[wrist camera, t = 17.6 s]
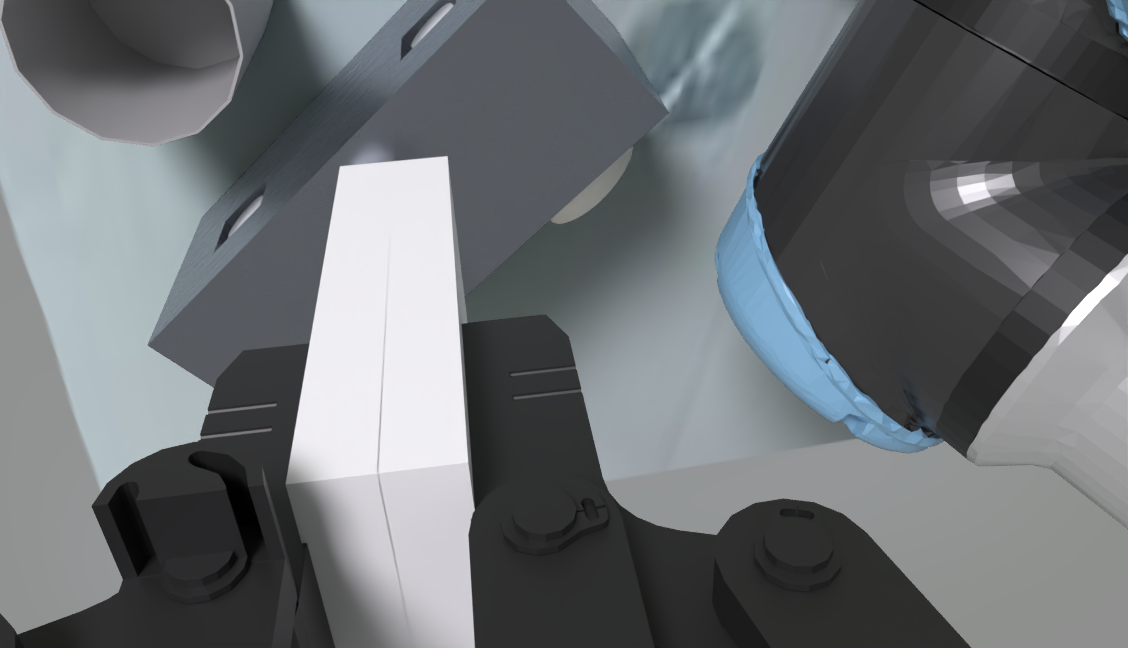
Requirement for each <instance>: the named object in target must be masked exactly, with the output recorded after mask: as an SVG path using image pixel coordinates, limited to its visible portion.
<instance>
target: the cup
mask: <svg viewBox="0 0 1128 648" xmlns="http://www.w3.org/2000/svg"><path fill="white" fill-rule="evenodd" d="M273 2H274V0H0V29H1V31H2V34H3V37H4V40H5V43H6V46H7V49H8V52H9V55H10V58H11V61H12V64H13V66H14V69H15V71H16V73H17V74H18V75H19V76H20V77H21V78H22V79H23V81H24V82H25V83H26V84H27V85H28V86H29V87H30V88H31V90H32V91H33V92H34V93H35V94H36V95H37V96H38V98H39V99H40V100H41V101H42V102H43V103H44V104H45V105H46V107H47V108H48V109H49V110H50V111H51V112H52V113H53V114H54V115H56V116H58V117H60V118H62V119H64V120H66V121H68V122H69V123H71V124H73V125H75V126H77V127H79V128H81V129H82V130H84V131H86V132H88V133H90V134H92V135H94V136H95V137H97V138H99V139H101V140H107V141H114V142H122V143H130V144H138V145H145V146H157V145H160V144H164V143H167V142H170V141H174V140H177V139H180V138H184V137H187V136H191V135H194V134H197V133H199V132H200V131H201V130H203V129H204V128H205V127H206V126H207V125H208V124H209V123H210V122H211V121H212V120H213V119H214V118H215V117H216V116H217V115H218V114H219V113H220V112H221V111H222V110H223V109H224V108H225V107H226V106H227V105H228V104H229V103H230V102H231V100H232V98H233V96H234V94H235V92H236V90H237V88H238V86H239V84H240V82H241V80H242V78H243V75H244V73H245V71H246V69H247V67H248V65H249V63H250V61H251V59H252V57H253V55H254V53H255V50H256V48H257V46H258V44H259V42H260V40H261V38H262V36H263V34H264V32H265V30H266V26H267V23H268V19H269V16H270V12H271V9H272V5H273Z"/></svg>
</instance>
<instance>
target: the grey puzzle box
mask: <svg viewBox="0 0 1128 648" xmlns="http://www.w3.org/2000/svg"><path fill="white" fill-rule="evenodd" d="M448 3H451V4H452V5H453V7H452V8H451V9H450V10H449V11H448V12H447V13H446V14H445V15H444V16H443V17H442V19H441V20H440V21H439V22H438V23H437V24H436V25H435V26H434V27H433V28H432V29H431V30H430V31H429V32H428V33H427V34H426V35H425V36H424V37H423V38H422V39H421V40H420V41H419V42H418V43H417V44H416V45H415V46H414V47H413V48H412V47H411V44H412V41H413V40H414V38H415V36H416V35H417V33H418V32H419V30H420V29H421V28H422V27H423V25H424V24H425V23H426V22H427V21H428V20H429V19H430V18H431V17H432V16H433V15H434V14H435V13H436V12H437V11H438V10H439V9H440V8H441V7H443V6H444V5H446V4H448ZM668 113H669V112H668V110H667V109H666V107H665V106H664V104H663V103H662V101H661V99H660V98H659V96H658V95H657V93H656V91H655V90H654V88H653V87H652V85H651V83H650V82H649V80H648V79H647V77H646V75H645V74H644V72H643V71H642V69H641V67H640V66H639V64H638V63H637V61H636V59H635V58H634V56H633V55H632V53H631V51H630V50H629V48H628V47H627V45H626V44H625V42H624V40H623V39H622V37H621V36H620V34H619V32H618V31H617V29H616V28H615V27H614V25H613V24H612V23H611V22H610V21H609V20H608V19H607V18H606V17H605V15H604V14H603V13H602V12H601V11H600V10H599V9H598V8H597V7H596V5H595V4H594V3H593V2H592V1H591V0H408V1H407V2H406V3H405V4H404V5H403V6H402V7H401V8H400V9H399V11H398V12H397V13H396V14H395V15H394V16H393V17H392V18H391V19H390V20H389V21H388V22H387V23H386V24H385V25H384V26H383V27H382V28H381V29H380V31H379V32H378V33H377V34H376V35H375V36H374V37H373V38H372V39H371V40H370V41H369V42H368V43H367V44H366V45H365V46H364V47H363V48H362V50H361V51H360V52H359V53H358V54H357V55H356V56H355V57H354V58H353V59H352V60H351V61H350V62H349V63H348V64H347V65H346V66H345V67H344V68H343V70H342V71H341V72H340V73H339V74H338V75H337V76H336V77H335V78H334V79H333V80H332V81H331V82H330V83H329V84H328V85H327V86H326V87H325V88H324V90H323V91H322V92H321V93H320V94H319V95H318V96H317V97H316V98H315V99H314V100H313V101H312V102H311V103H310V104H309V105H308V106H307V107H306V109H305V110H304V111H303V112H302V113H301V114H300V115H299V116H298V117H297V118H296V119H295V120H294V121H293V122H292V123H291V124H290V125H289V126H288V127H287V129H286V130H285V131H284V132H283V133H282V134H281V135H280V136H279V137H278V138H277V139H276V140H275V141H274V142H273V143H272V144H271V145H270V146H269V148H268V149H267V150H266V151H265V152H264V153H263V154H262V155H261V156H260V157H259V158H258V159H257V160H256V161H255V162H254V163H253V164H252V165H251V166H250V168H249V169H248V170H247V171H246V172H245V173H244V174H243V175H242V176H241V177H240V178H239V179H238V180H237V181H236V182H235V183H234V184H233V185H232V186H231V188H230V189H229V190H228V191H227V192H226V193H225V194H224V195H223V196H222V197H221V198H220V199H219V200H218V201H217V202H216V203H215V204H214V205H213V207H212V208H211V209H210V210H209V211H208V212H207V213H206V214H205V215H204V216H203V217H202V219H201V221H200V223H199V226H198V228H197V230H196V233H195V235H194V237H193V240H192V242H191V244H190V247H189V249H188V251H187V254H186V256H185V258H184V261H183V263H182V265H181V268H180V270H179V272H178V275H177V277H176V280H175V282H174V284H173V287H172V289H171V291H170V294H169V296H168V298H167V301H166V303H165V305H164V308H163V310H162V312H161V315H160V317H159V319H158V322H157V324H156V326H155V329H154V331H153V333H152V336H151V338H150V340H149V343H148V346H149V347H151V348H153V349H154V350H156V351H157V352H159V353H160V354H162V355H163V356H165V357H167V358H168V359H170V360H171V361H173V362H174V363H176V364H178V365H179V366H181V367H182V368H184V369H185V370H187V371H188V372H190V373H192V374H193V375H195V376H196V377H198V378H199V379H201V380H202V381H204V382H206V383H207V384H209V385H210V386H212V387H213V388H214V387H215V383H216V380H217V378H218V377H219V376H220V375H221V374H222V373H223V372H224V371H225V369H226V368H227V367H228V366H229V365H230V364H231V363H232V362H233V361H234V360H235V359H236V358H237V357H238V355H239V354H240V353H241V352H242V351H243V350H252V349H261V348H270V347H280V346H289V345H298V344H307V343H310V339H311V333H312V327H313V321H314V315H315V309H316V304H317V298H318V292H319V286H320V280H321V274H322V268H323V263H324V257H325V251H326V245H327V239H328V233H329V227H330V222H331V216H332V210H333V204H334V198H335V192H336V187H337V181H338V175H339V169H340V166H348V165H359V164H369V163H380V162H391V161H401V160H412V159H423V158H433V157H444V156H448V164H449V172H450V181H451V189H452V197H453V205H454V214H455V222H456V230H457V238H458V247H459V255H460V263H461V271H462V280H463V288H464V296H466V295H467V294H469V293H470V292H471V291H472V290H473V289H474V288H475V287H476V286H477V285H479V284H480V283H481V282H482V281H483V280H484V279H485V278H486V277H487V276H489V275H490V274H491V273H492V272H493V271H494V270H495V269H496V268H497V267H499V266H500V265H501V264H502V263H503V262H504V261H505V260H506V259H507V258H509V257H510V256H511V255H512V254H513V253H514V252H515V251H516V250H517V249H519V248H520V247H521V246H522V245H523V244H524V243H525V242H526V241H527V240H528V239H530V238H531V237H532V236H533V235H534V234H535V233H536V232H537V231H538V230H540V229H541V228H542V227H543V226H544V225H545V224H546V223H547V222H548V221H550V220H551V219H552V218H553V217H554V216H555V215H556V214H557V213H558V212H560V211H561V210H562V209H563V208H564V207H565V206H566V205H567V204H568V203H570V202H571V201H572V200H573V199H574V198H575V197H576V196H577V195H578V194H580V193H581V192H582V191H583V190H584V189H585V188H586V187H587V186H588V185H590V184H591V183H592V182H593V181H594V180H595V179H596V178H597V177H598V176H600V175H601V174H602V173H603V172H604V171H605V170H606V169H607V168H608V167H610V166H611V165H612V164H613V163H614V162H615V161H616V160H617V159H618V158H620V157H621V156H622V155H623V154H624V153H625V152H626V151H627V150H628V149H629V148H631V147H632V146H633V145H634V144H635V143H636V142H637V141H638V140H639V139H641V138H642V137H643V136H644V135H645V134H646V133H647V132H648V131H649V130H651V129H652V128H653V127H654V126H655V125H656V124H657V123H658V122H659V121H661V120H662V119H663V118H664V117H665V116H666V115H667V114H668ZM259 196H263V198H262V201H261V204H260V206H259V207H258V208H257V209H256V210H255V211H254V212H253V213H252V214H251V215H250V216H249V217H248V218H247V220H246V221H245V222H244V223H243V224H242V225H241V226H240V227H239V228H238V229H237V230H236V231H235V232H234V233H233V234H232V235H231V236H230V237H229V238H228V235H229V232H230V230H231V228H232V227H233V225H234V224H235V222H236V221H237V219H238V218H239V217H240V215H241V214H242V213H243V212H244V211H245V209H246V208H247V207H248V206H249V205H250V204H251V203H252V202H253V201H254V200H255V199H257V198H258V197H259Z"/></svg>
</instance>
